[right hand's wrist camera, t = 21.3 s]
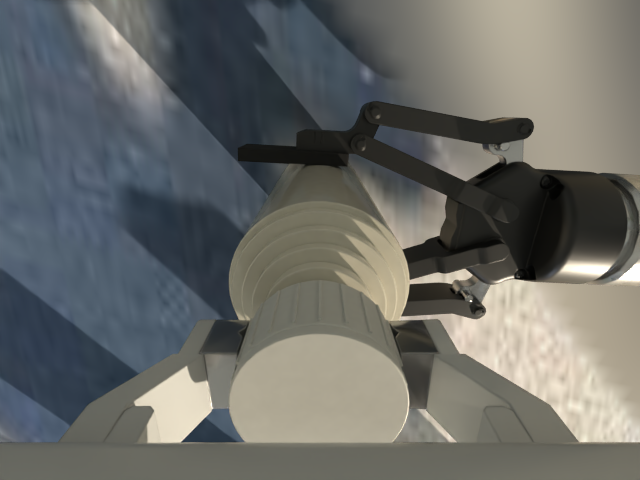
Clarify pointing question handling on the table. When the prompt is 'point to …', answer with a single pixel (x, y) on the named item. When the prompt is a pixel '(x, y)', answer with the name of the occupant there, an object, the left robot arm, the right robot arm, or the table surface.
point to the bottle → (319, 242)
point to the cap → (319, 370)
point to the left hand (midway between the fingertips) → (245, 211)
